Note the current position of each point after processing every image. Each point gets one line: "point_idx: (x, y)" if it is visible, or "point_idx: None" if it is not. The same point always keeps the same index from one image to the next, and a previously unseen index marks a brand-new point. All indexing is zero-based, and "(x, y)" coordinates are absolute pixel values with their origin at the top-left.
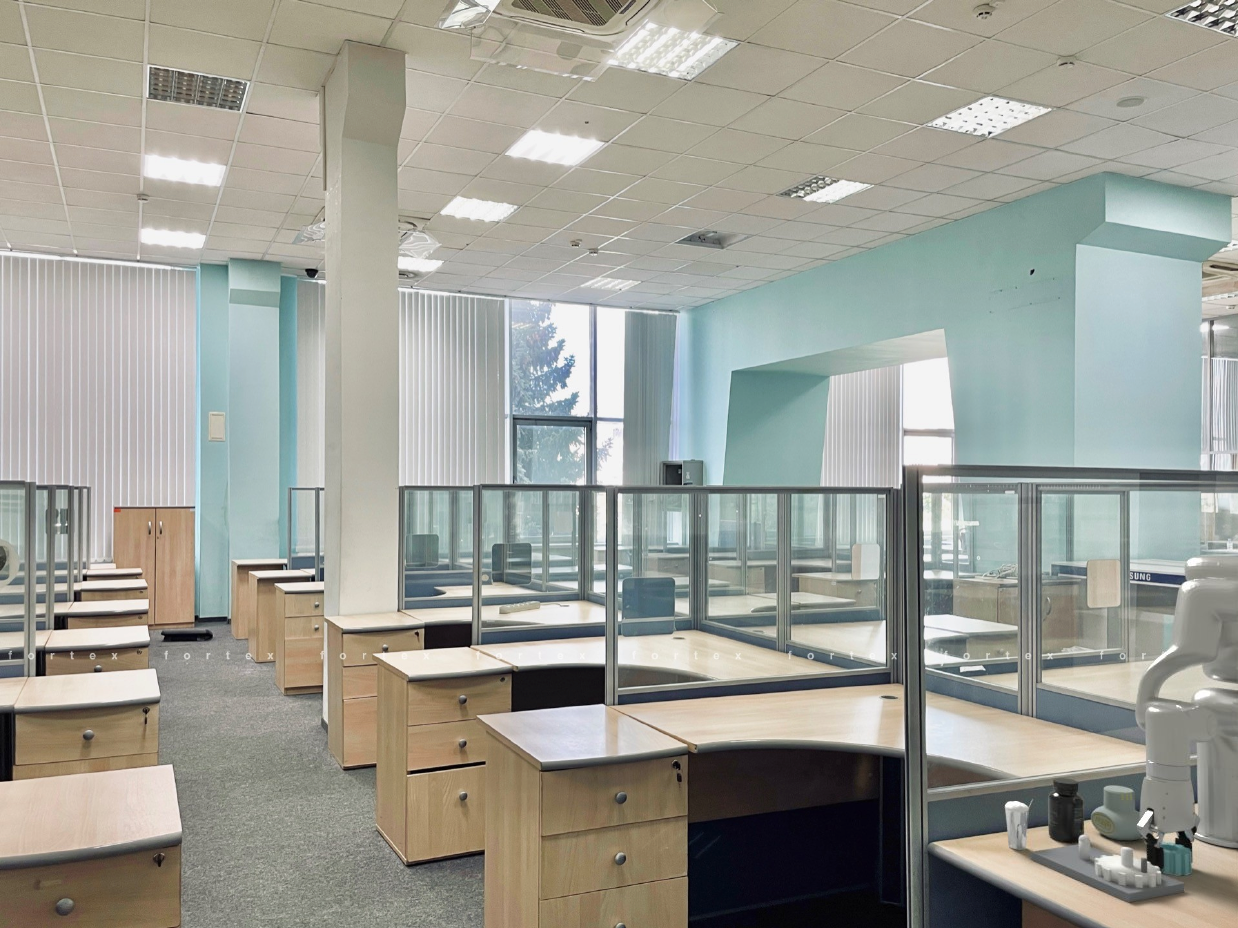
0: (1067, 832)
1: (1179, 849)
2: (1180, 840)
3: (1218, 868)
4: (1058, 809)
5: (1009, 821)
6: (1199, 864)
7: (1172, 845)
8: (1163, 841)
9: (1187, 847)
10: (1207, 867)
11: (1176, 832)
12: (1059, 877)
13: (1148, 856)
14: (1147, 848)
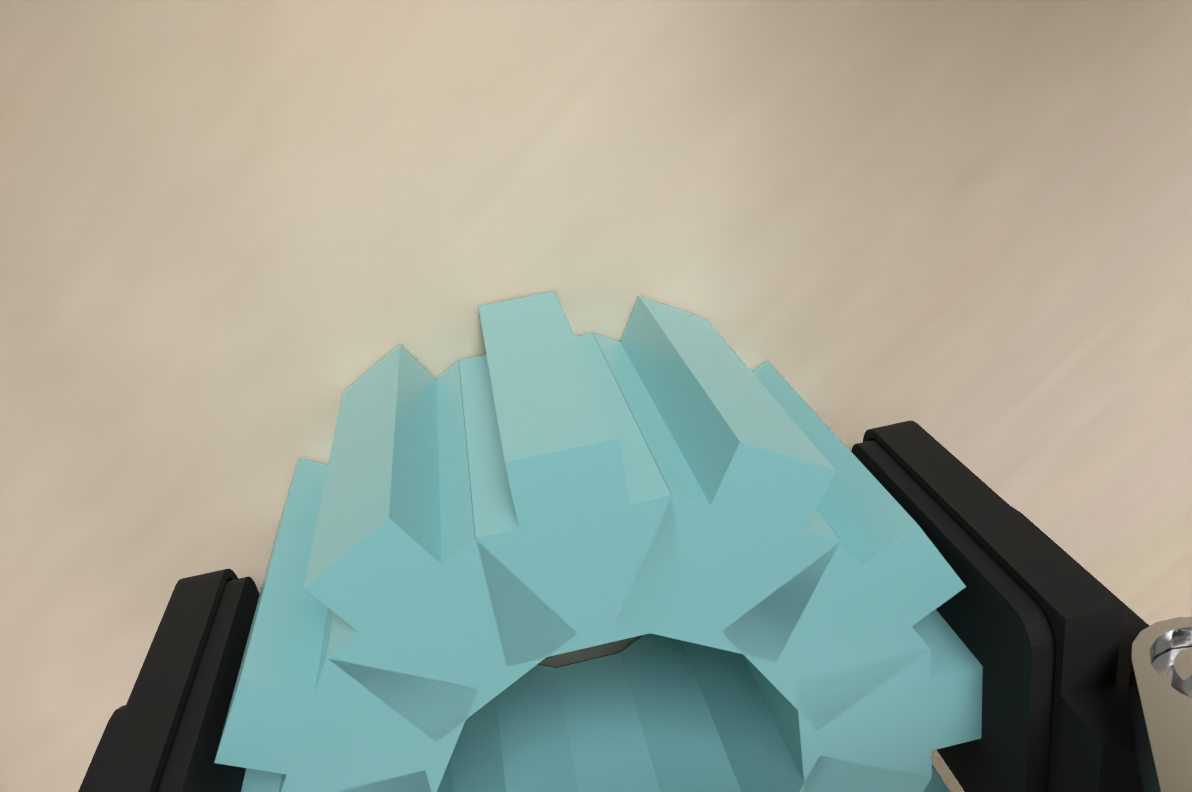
0: None
1: None
2: (1050, 707)
3: (1186, 603)
4: None
5: None
6: (1105, 466)
7: (791, 692)
8: (818, 475)
9: (978, 779)
10: (1096, 565)
11: (1148, 760)
12: None
13: (106, 752)
14: (115, 770)
